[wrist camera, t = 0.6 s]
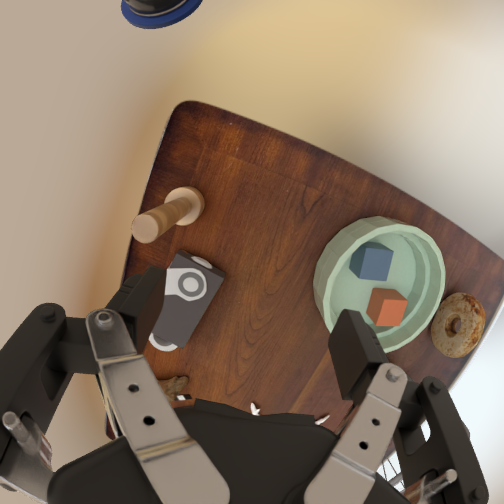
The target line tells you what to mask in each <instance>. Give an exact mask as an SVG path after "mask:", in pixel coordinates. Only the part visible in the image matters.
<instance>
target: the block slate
mask: <svg viewBox="0 0 504 504" xmlns="http://www.w3.org/2000/svg"><path fill="white" fill-rule="evenodd" d="M393 253H394V251H393V250H391V249H389V248H388V247H386V246H384V245H383V244H381V243H375V242H369V241H367V242H365V243H363V244H361V245H360V246H359V247H358V248H357V249H356V250H355V251H354V253H353V254H352V256H351V261H350V265H349V269H350V270H351V271H352V272H353V273H354V274H355V275H356V276H357V277H358V278H359V279H365V280H376V281H387V277H388V273H389V269H390V265H391V261H392V257H393Z"/></svg>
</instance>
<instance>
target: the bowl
mask: <svg viewBox="0 0 504 504" xmlns="http://www.w3.org/2000/svg"><path fill="white" fill-rule="evenodd" d="M367 241H369V242H375V243H381V244H383V245H384V246H386V247H388V248H389V249H391V250H393V251H394V253H393V257H392V261H391V265H390V269H389V273H388V277H387V281H376V280H365V279H359V278H358V277H357V276H356V275H355V274H354V273H353V272H352V271H351V270H350V269H349V265H350V261H351V256H352V254H353V253H354V251H355V250H356V249H357V248H358V247H359V246H360V245H361V244H363V243H365V242H367ZM444 286H445V266H444V262H443V258H442V253H441V251H440V250H439V248H438V247H437V245H436V243H435V242H434V240H433V239H432V238H431V237H430V236H429V235H427V234H426V233H425V232H423V231H422V230H420V229H419V228H417V227H415V226H412V225H410V224H407V223H405V222H402V221H399V220H397V219H393V218H388V217H382V216H375V217H369V218H364V219H360V220H358V221H356V222H354V223H352V224H350V225H349V226H347V227H345V228H343V229H341V230H340V231H339V233H338V234H337V235H336V236H335V237H334V238H333V239H332V240H331V241H330V242H329V243H328V244H327V245H326V247H325V249H324V251H323V253H322V255H321V257H320V258H319V260H318V262H317V265H316V270H315V275H314V280H313V290H314V298H315V303H316V305H317V307H318V309H319V311H320V313H321V316H322V318H323V320H324V322H325V324H326V326H327V328H328V330H329V332H330V334H331V332H332V330H333V328H334V326H335V324H336V322H337V320H338V318H339V315H340V313H341V311H342V310H343V309H350V310H355V311H359V312H360V313H361V315H362V317H363V319H364V321H365V323H367V324H368V325H369V326H370V327H371V328H372V329H373V330H374V331H375V333H376V335H377V337H378V338H377V339H378V340H379V342H380V345H381V346H382V348H383V350H384V352H385V353H387V352H390V351H393V350H396V349H399V348H400V347H402V346H403V345H405V344H407V343H408V342H410V341H411V340H413V339H414V338H415V337H416V336H417V335H418V334H419V333H420V332H421V331H422V330H423V329H424V328H425V327H426V326H427V325H428V324H429V322H430V320H431V319H432V317H433V316H434V314H435V312H436V311H437V309H438V307H439V304H440V301H441V298H442V295H443V292H444ZM373 288H383V289H396V290H397V291H398V292H399V293H400V294H401V295H402V296H403V297H405V298H406V299H407V300H408V302H407V305H406V309H405V312H404V315H403V318H402V321H401V323H400V326H376V325H375V324H374V323H373V321H372V320H371V319H370V317H369V316H368V315H367V314H366V311H367V307H368V304H369V300H370V296H371V293H372V289H373Z"/></svg>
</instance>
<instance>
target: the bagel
mask: <svg viewBox="0 0 504 504" xmlns="http://www.w3.org/2000/svg"><path fill="white" fill-rule="evenodd" d="M460 319H461V327H460V330H459V332H458V333H456V331H455V326H456V323H457V321H458V320H460ZM484 325H485V312H484V309H483V307H482V305H481V303H480V302H479V301H478V300H477V299H476V298H475V297H473V296H472V295H470V294H467V293H454V294H452V295H450V296H448V297H447V298H446V299H445V300H444V301H443V302H442V303H441V304H440V306H439V308H438V310H437V312H436V314H435V317H434V320H433V322H432V326H431V337H432V342H433V344H434V346H435V347H436V348H437V349H438V350H439V351H440V352H441V353H443V354H444V355H446V356H449V357H453V358H458V357H462V356H465V355H466V354H468V353H469V352H470V351H471V350H472V349H473V348H474V347H475V346H476V345H477V344H478V342H479V340H480V338H481V336H482V333H483V330H484Z"/></svg>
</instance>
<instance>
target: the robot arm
mask: <svg viewBox="0 0 504 504" xmlns="http://www.w3.org/2000/svg"><path fill="white" fill-rule="evenodd" d="M124 1H125V2H126V3H127V5H128V7H129V8H130V10H131V11H132V12H133V13H134V14H136V15H137V16H140V17H144V18H155V17H161V16H164V15H167V14H170V13H172V12H174V11H176V10H178V9H179V8H181V7H182V6H183V5H185V4H186V3H187V2H188V1H189V0H124ZM166 277H167V270H166V269H162V268H158V267H154V266H149V268H148V269H147V270H146V272H145V273H144V274H143V275H140V274H135V275H133V276H131V277H129V278H127V280H126V281H125V282H124V283H123V285H122V286H121V287H120V289H119V290H118V292H117V293H116V294H115V295H114V296H113V298H112V299H111V300H110V302H109V303H108V304H107V306H106V307H105V308H104V309H97V310H94V311H92V312H90V313H89V314H88V315H87V317H86V318H73V317H66V315H65V310H64V309H63V307H61V306H60V305H58V304H55V303H44V304H41V305H39V306H37V307H36V308H35V309H34V310H33V311H32V312H31V313H30V315H29V316H28V317H27V318H26V319H25V320H24V321H23V323H22V324H21V325H20V326H19V327H18V329H17V330H16V331H15V332H14V334H13V335H12V336H11V338H10V339H9V340H8V341H7V343H6V344H5V345H4V347H3V348H2V349H1V350H0V485H1V486H2V487H3V488H5V489H7V490H9V491H19V492H20V493H22V494H24V495H26V496H28V497H29V498H31V499H33V500H35V501H37V502H39V503H41V504H487V503H488V499H489V493H488V489H487V485H486V483H485V479H484V476H483V473H482V471H481V468H480V465H479V462H478V460H477V457H476V454H475V452H474V449H473V447H472V444H471V442H470V439H469V437H468V434H467V432H466V430H465V427H464V425H463V423H462V420H461V418H460V416H459V414H458V411H457V409H456V407H455V405H454V403H453V401H452V399H451V397H450V394H449V392H448V390H447V388H446V386H445V385H444V384H443V383H442V382H441V381H440V380H439V379H437V378H435V377H432V376H428V377H425V378H424V379H423V381H422V382H421V383H420V384H418V383H415V382H412V381H408V380H407V375H406V374H405V372H404V371H403V370H402V369H401V368H400V367H398V366H397V365H395V364H392V363H389V361H388V358H387V356H386V354H385V352H384V350H383V348H382V346H381V345H380V342H379V340H378V339H377V338H378V337H377V335H376V333H375V331H374V330H373V329H372V328H371V327H370V326H369V325H368V324H367V323H365V321H364V319H363V317H362V315H361V313H360V312H359V311H355V310H350V309H343V310H342V311H341V313H340V315H339V318H338V320H337V322H336V324H335V326H334V328H333V330H332V332H331V334H330V337H329V342H328V346H329V350H330V354H331V358H332V361H333V365H334V369H335V373H336V376H337V380H338V384H339V388H340V392H341V396H342V400H353V405H352V406H351V407H350V408H349V410H348V412H347V413H346V415H345V416H344V418H343V419H342V421H341V422H340V424H339V425H338V427H337V428H336V430H335V431H334V432H332V431H331V430H329V429H327V428H325V427H323V426H320V425H318V424H315V419H314V415H305V414H293V413H281V414H271V415H253V414H250V413H248V412H245V411H242V410H239V409H237V408H234V407H232V406H229V405H226V404H222V403H216V402H211V401H207V400H202V399H197V398H196V400H195V404H194V406H187V407H178V408H172V406H171V405H170V403H169V401H168V399H167V397H166V396H165V394H164V392H163V390H162V388H161V386H160V385H159V383H158V381H157V379H156V377H155V375H154V373H153V371H152V369H151V367H150V365H149V363H148V361H147V359H146V357H145V356H144V354H142V352H143V350H144V347H145V345H146V343H147V341H148V339H149V337H150V335H151V332H152V330H153V328H154V326H155V324H156V322H157V320H158V318H159V316H160V314H161V311H162V308H163V304H164V297H165V287H166ZM74 373H83V374H94V375H95V378H96V382H97V385H98V387H99V391H100V394H101V396H102V400H103V403H104V405H105V408H106V411H107V414H108V417H109V420H110V423H111V426H112V429H113V431H114V434H115V436H116V439H114V440H113V441H111V442H109V443H107V444H105V445H103V446H102V447H100V448H98V449H96V450H94V451H92V452H90V453H88V454H86V455H84V456H82V457H80V458H78V459H76V460H74V461H72V462H70V463H68V464H66V465H64V466H62V467H61V468H60V469H58V470H57V471H56V472H53V471H52V468H51V457H52V449H51V446H50V444H49V442H48V441H47V439H46V438H45V433H46V431H47V429H48V427H49V424H50V422H51V420H52V418H53V415H54V413H55V411H56V409H57V406H58V405H59V403H60V401H61V398H62V396H63V394H64V392H65V390H66V388H67V386H68V384H69V382H70V380H71V378H72V376H73V374H74ZM426 419H427V422H428V424H429V427H430V437H429V439H428V441H427V442H426V441H425V438H424V435H423V432H422V429H421V426H420V425H421V424H422V423H423V422H424V421H425V420H426ZM392 436H393V440H394V444H395V448H396V452H397V456H398V460H399V464H400V468H401V473H402V477H403V482H404V487H405V492H404V495H402V494H401V493H400V492H399V491H398V490H397V489H395V488H394V487H393V486H392V485H391V484H390V483H389V482H388V481H386V480H385V479H384V478H383V477H382V476H381V475H380V474H378V473H377V472H376V471H377V469H378V467H379V465H380V463H381V461H382V458H383V456H384V454H385V452H386V450H387V447H388V445H389V443H390V440H391V438H392Z"/></svg>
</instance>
